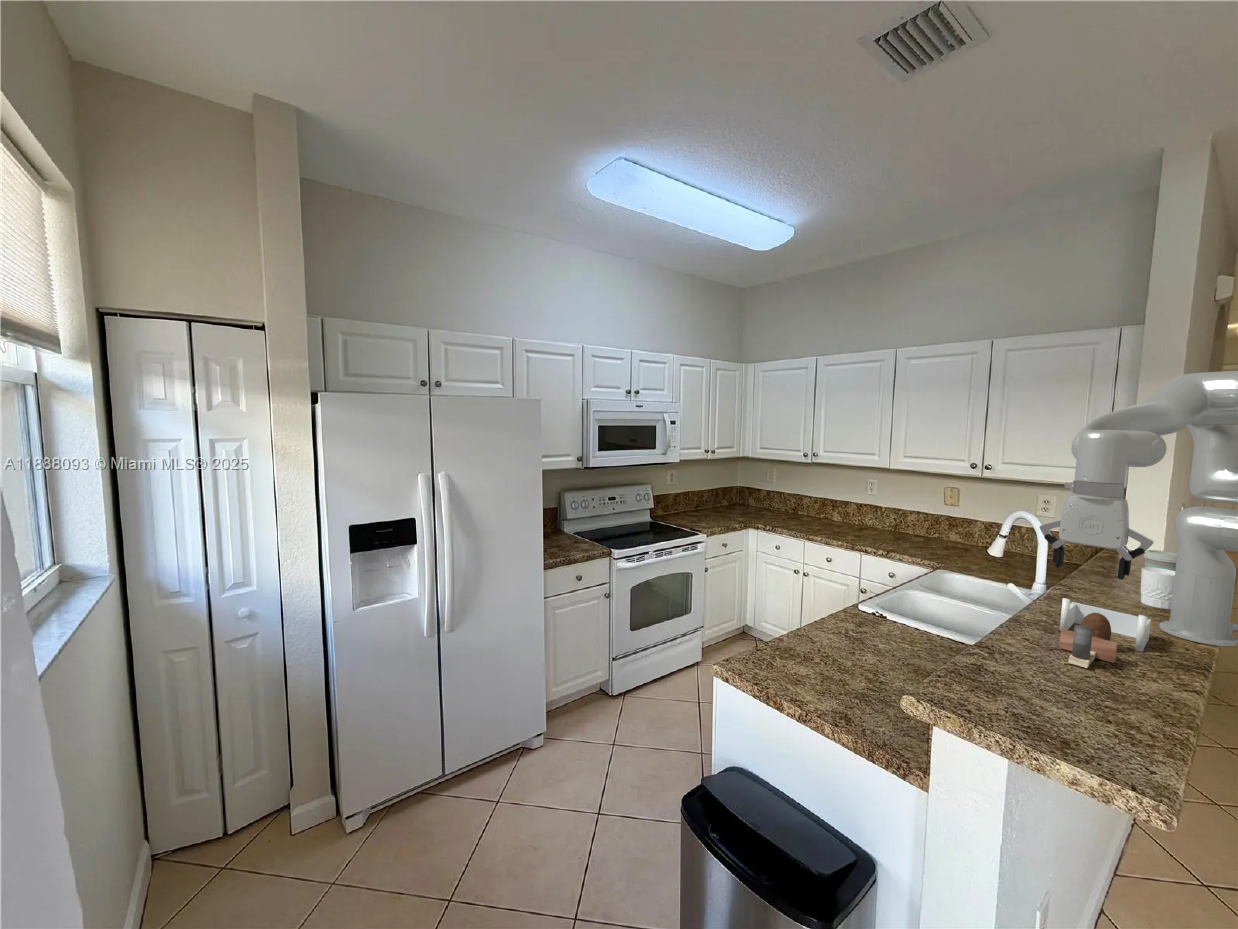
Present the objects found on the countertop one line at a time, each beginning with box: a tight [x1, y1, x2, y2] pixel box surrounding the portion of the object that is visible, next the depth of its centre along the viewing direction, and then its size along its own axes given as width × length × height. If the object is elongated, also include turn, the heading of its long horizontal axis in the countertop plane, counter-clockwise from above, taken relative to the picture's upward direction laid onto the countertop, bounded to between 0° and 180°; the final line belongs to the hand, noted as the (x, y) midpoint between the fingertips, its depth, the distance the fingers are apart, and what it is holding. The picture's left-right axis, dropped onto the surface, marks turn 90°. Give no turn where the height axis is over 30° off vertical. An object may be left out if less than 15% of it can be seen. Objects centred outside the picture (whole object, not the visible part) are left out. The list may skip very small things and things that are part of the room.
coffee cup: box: [1143, 549, 1177, 571], centre depth 158 cm, size 8×8×12 cm
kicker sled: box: [1058, 624, 1118, 669], centre depth 109 cm, size 10×9×8 cm
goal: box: [1059, 597, 1152, 653], centre depth 123 cm, size 11×15×8 cm
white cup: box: [1140, 566, 1175, 610], centre depth 144 cm, size 8×8×10 cm
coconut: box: [1080, 613, 1112, 641], centre depth 116 cm, size 5×5×8 cm
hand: (1089, 572), depth 106 cm, fingers open, 9 cm apart
